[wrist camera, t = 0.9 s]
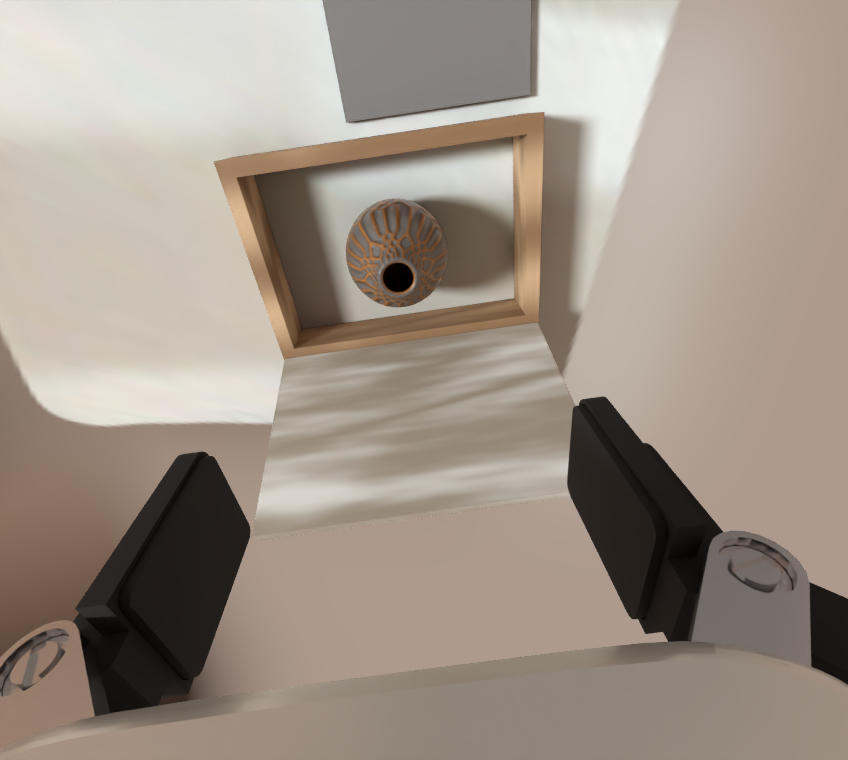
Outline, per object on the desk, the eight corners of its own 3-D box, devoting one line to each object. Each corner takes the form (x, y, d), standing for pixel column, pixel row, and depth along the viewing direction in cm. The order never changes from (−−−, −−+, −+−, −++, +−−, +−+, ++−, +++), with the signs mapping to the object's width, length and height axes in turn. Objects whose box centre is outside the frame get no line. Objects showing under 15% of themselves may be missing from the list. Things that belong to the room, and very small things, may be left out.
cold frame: (232, 157, 28) (59, 196, 13) (527, 113, 27) (679, 104, 13) (310, 391, 38) (261, 557, 24) (525, 360, 38) (609, 508, 23)
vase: (453, 206, 30) (473, 234, 23) (427, 294, 34) (437, 342, 26) (360, 179, 29) (349, 200, 22) (343, 273, 32) (329, 318, 25)
